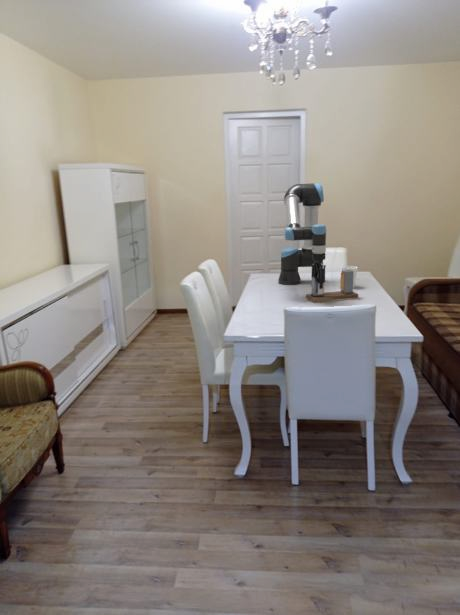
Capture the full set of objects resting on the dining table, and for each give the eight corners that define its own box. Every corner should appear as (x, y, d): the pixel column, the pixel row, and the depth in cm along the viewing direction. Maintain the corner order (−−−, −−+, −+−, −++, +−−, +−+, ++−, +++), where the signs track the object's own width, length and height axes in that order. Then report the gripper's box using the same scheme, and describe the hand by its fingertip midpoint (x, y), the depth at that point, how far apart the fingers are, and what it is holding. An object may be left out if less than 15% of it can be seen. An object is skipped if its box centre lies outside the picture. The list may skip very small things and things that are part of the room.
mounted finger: (352, 293, 252) (353, 271, 248) (343, 294, 251) (344, 272, 247) (349, 291, 256) (350, 270, 252) (339, 292, 254) (340, 270, 251)
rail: (306, 298, 254) (306, 294, 253) (349, 294, 259) (349, 290, 259) (313, 302, 244) (313, 298, 243) (358, 298, 250) (358, 294, 249)
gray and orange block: (311, 298, 251) (311, 276, 248) (320, 297, 252) (321, 275, 249) (314, 300, 247) (314, 278, 244) (323, 299, 249) (324, 277, 245)
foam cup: (355, 289, 270) (356, 269, 267) (340, 288, 274) (340, 268, 270) (357, 286, 278) (358, 266, 275) (342, 285, 282) (343, 265, 279)
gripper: (305, 250, 250) (305, 289, 257) (319, 255, 233) (318, 297, 239) (317, 249, 252) (317, 288, 258) (332, 254, 234) (331, 295, 241)
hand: (317, 292), depth 249 cm, fingers open, 6 cm apart
